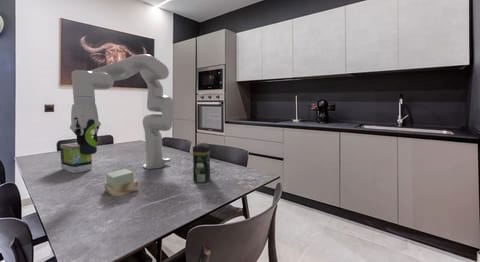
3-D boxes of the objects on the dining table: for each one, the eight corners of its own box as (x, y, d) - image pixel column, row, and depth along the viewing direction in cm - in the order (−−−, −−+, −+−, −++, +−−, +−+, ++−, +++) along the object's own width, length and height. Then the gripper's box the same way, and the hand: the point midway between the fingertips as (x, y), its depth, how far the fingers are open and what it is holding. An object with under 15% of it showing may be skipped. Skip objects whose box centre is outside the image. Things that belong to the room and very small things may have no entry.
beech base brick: (130, 185, 108) (129, 175, 107) (139, 191, 101) (138, 180, 100) (105, 193, 101) (104, 182, 100) (114, 199, 94) (112, 188, 93)
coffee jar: (196, 177, 122) (196, 141, 120) (211, 177, 121) (211, 142, 119) (191, 183, 112) (190, 145, 110) (207, 183, 112) (207, 145, 110)
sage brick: (126, 177, 106) (125, 168, 105) (134, 181, 100) (133, 172, 100) (107, 182, 100) (106, 173, 99) (114, 187, 95) (112, 177, 94)
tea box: (93, 169, 134) (91, 144, 132) (73, 173, 125) (71, 146, 124) (80, 165, 142) (78, 141, 140) (60, 169, 134) (59, 143, 132)
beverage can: (77, 153, 100) (74, 118, 98) (93, 151, 105) (91, 118, 103) (83, 155, 96) (80, 119, 95) (99, 153, 101) (97, 118, 99)
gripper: (92, 100, 107) (95, 139, 109) (58, 100, 90) (62, 146, 92) (107, 101, 106) (109, 140, 108) (75, 100, 89) (79, 147, 91)
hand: (87, 142), depth 100 cm, fingers closed on beverage can, 6 cm apart
